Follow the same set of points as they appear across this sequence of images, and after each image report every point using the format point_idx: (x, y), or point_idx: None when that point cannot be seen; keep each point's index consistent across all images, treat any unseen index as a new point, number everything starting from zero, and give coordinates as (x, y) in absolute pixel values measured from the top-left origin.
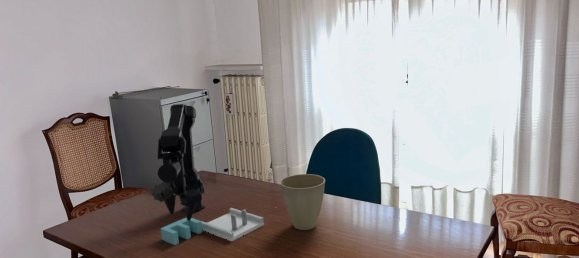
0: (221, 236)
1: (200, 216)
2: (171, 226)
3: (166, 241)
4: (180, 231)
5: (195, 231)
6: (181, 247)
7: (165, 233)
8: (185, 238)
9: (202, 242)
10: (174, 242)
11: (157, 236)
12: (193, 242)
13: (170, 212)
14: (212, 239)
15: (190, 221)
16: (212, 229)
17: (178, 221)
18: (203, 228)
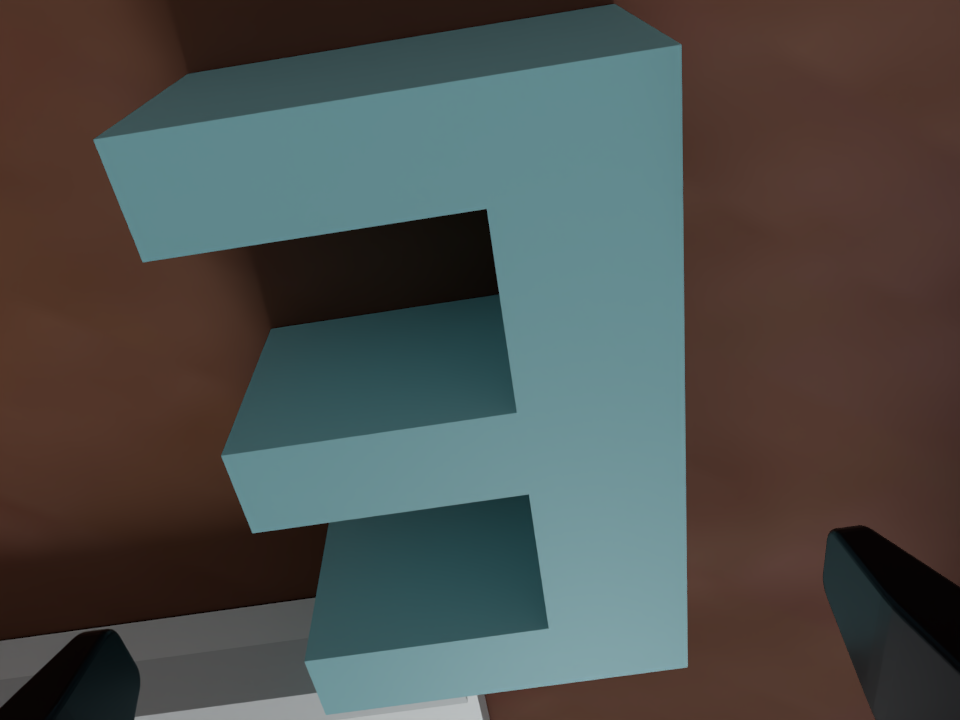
0: (8, 652)
1: (803, 711)
2: (544, 294)
3: (457, 30)
4: (430, 358)
5: (398, 518)
6: (18, 125)
7: (462, 62)
8: (306, 327)
9: (15, 437)
10: (173, 89)
11: (826, 6)
12: (98, 351)
13: (860, 567)
14: (34, 555)
15: (510, 615)
16: (165, 676)
17: (655, 492)
18: None
